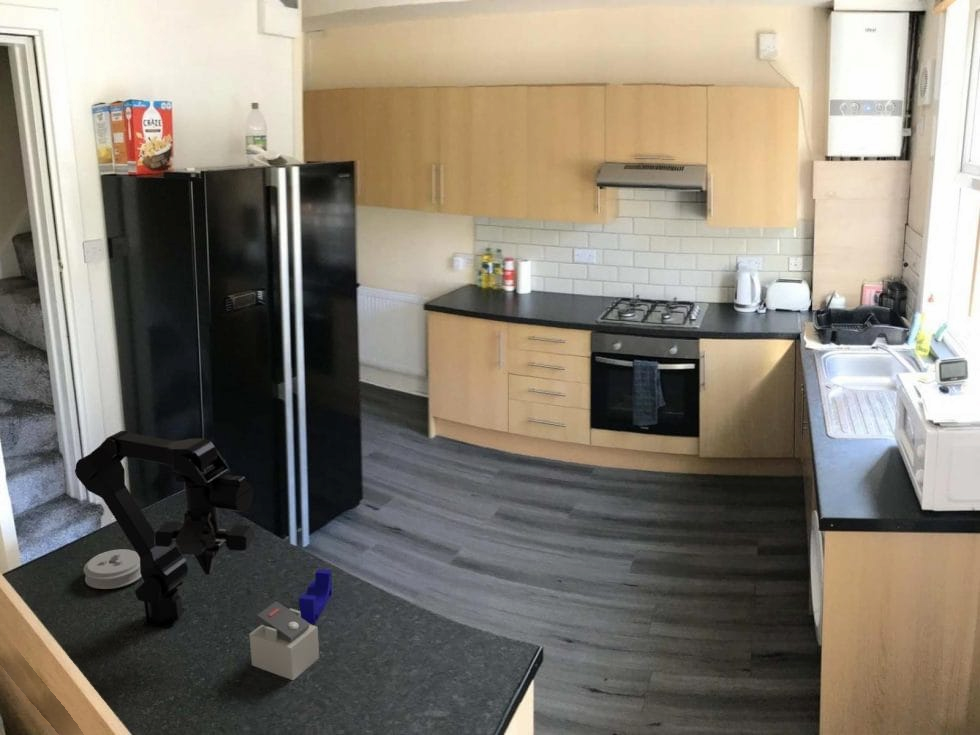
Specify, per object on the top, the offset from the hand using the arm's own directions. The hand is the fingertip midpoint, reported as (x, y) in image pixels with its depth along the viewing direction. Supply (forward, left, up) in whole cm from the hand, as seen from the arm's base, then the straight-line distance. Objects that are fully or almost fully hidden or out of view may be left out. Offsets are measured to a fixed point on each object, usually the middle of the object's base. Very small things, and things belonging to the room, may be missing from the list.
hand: (208, 573), depth 187 cm
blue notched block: (+18, +10, -13) cm, 25 cm away
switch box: (+18, -9, -13) cm, 24 cm away
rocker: (+18, -9, -4) cm, 21 cm away
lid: (-30, +18, -13) cm, 38 cm away
